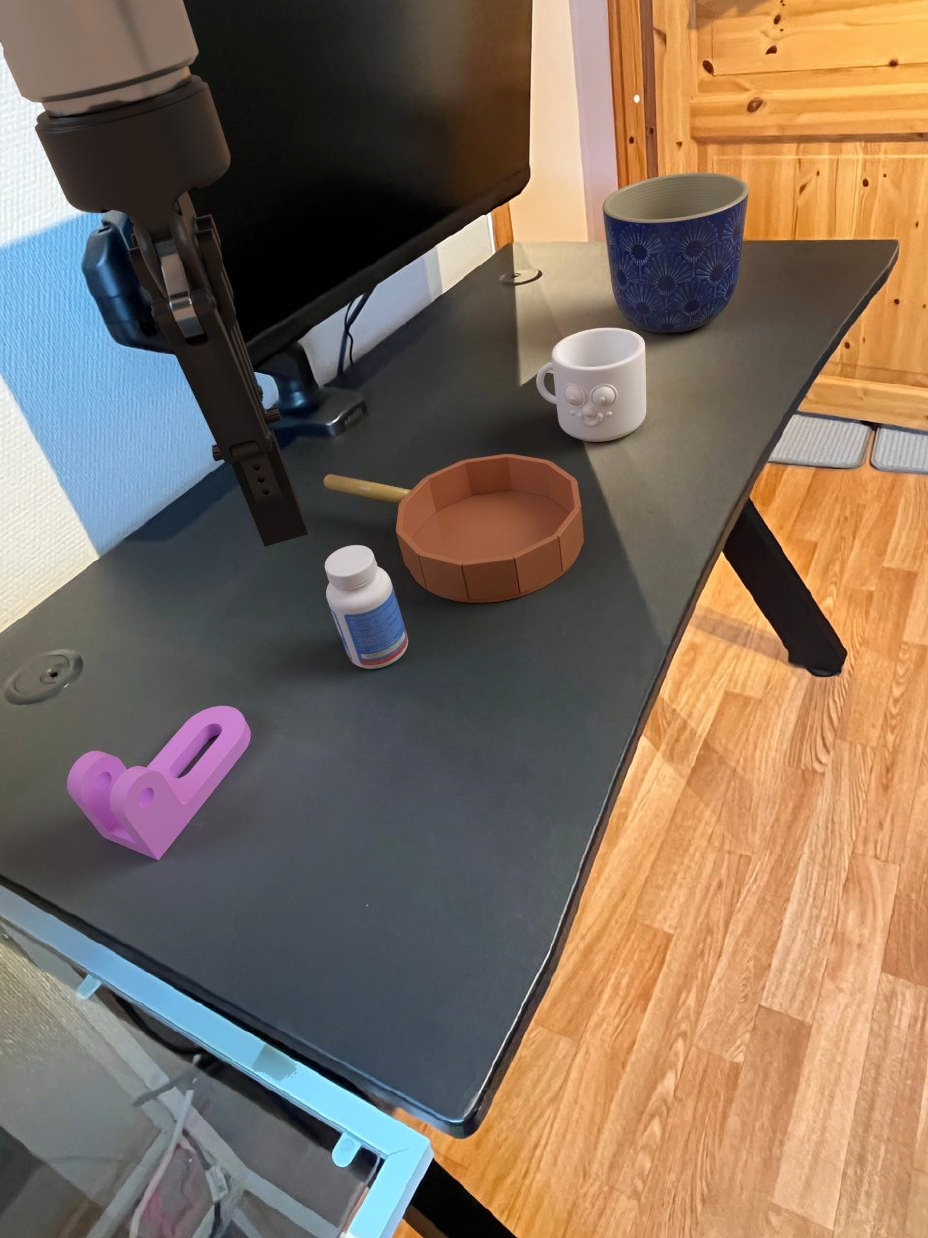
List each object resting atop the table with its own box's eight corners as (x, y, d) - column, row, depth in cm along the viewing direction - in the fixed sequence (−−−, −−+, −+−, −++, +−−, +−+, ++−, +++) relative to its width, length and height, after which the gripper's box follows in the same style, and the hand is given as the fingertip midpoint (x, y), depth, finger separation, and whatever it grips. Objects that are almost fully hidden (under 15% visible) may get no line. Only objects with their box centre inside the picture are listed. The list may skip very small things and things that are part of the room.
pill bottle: (421, 637, 73) (397, 548, 66) (384, 678, 70) (354, 589, 63) (373, 620, 76) (345, 533, 69) (335, 659, 73) (302, 572, 66)
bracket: (158, 860, 60) (115, 803, 55) (103, 837, 62) (57, 780, 58) (264, 726, 68) (234, 666, 63) (211, 710, 70) (179, 651, 66)
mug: (526, 447, 93) (516, 371, 87) (552, 400, 100) (544, 327, 94) (635, 452, 88) (632, 372, 82) (654, 403, 95) (653, 326, 89)
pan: (611, 510, 82) (609, 469, 79) (531, 622, 72) (525, 581, 69) (378, 465, 95) (369, 430, 92) (284, 555, 85) (270, 518, 82)
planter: (753, 292, 112) (761, 168, 102) (726, 351, 102) (732, 218, 92) (629, 291, 119) (625, 174, 109) (591, 345, 109) (583, 222, 99)
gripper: (47, 87, 40) (222, 495, 56) (2, 140, 31) (228, 617, 46) (201, 51, 41) (331, 465, 56) (205, 91, 31) (361, 579, 47)
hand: (285, 533), depth 51 cm, fingers closed
